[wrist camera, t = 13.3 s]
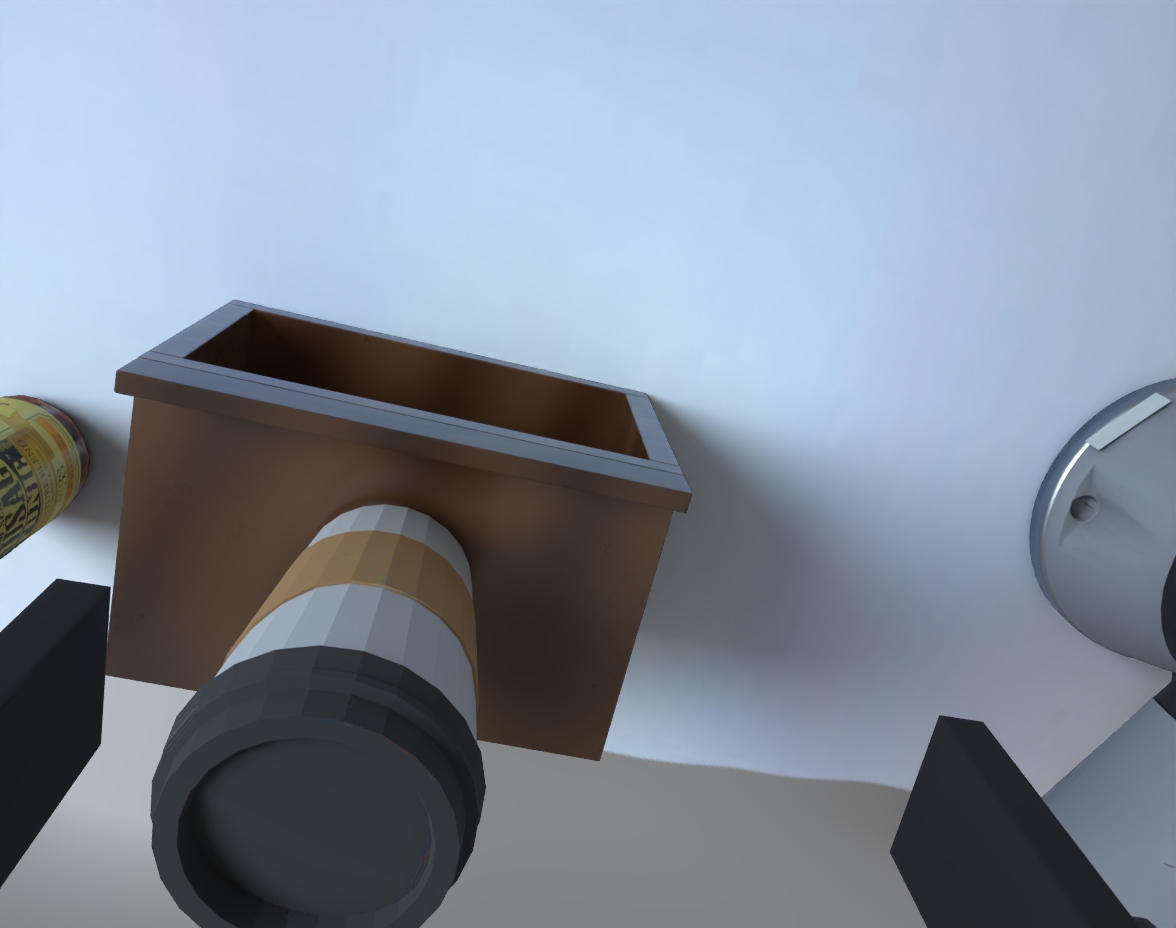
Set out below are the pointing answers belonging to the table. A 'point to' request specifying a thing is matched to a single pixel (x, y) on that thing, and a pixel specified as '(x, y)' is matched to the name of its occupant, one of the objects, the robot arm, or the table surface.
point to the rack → (391, 503)
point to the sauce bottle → (36, 467)
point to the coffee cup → (333, 741)
